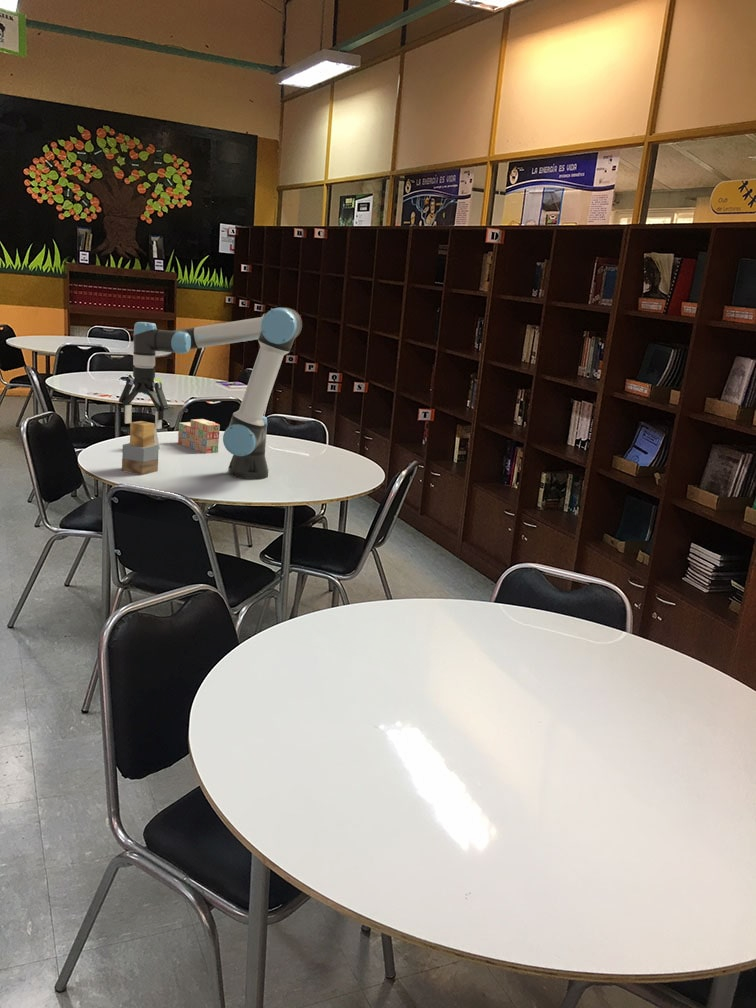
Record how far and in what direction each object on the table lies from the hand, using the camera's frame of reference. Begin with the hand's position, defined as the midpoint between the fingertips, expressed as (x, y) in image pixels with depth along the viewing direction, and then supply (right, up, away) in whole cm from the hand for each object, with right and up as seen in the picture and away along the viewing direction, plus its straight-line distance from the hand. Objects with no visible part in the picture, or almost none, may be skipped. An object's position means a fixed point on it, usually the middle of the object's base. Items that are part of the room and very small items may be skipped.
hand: (143, 426), depth 298 cm
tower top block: (-2, -12, +3) cm, 12 cm away
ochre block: (-1, -7, +2) cm, 7 cm away
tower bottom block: (-2, -16, +4) cm, 17 cm away
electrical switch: (-10, -6, +39) cm, 41 cm away
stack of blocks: (+8, -5, +53) cm, 54 cm away
